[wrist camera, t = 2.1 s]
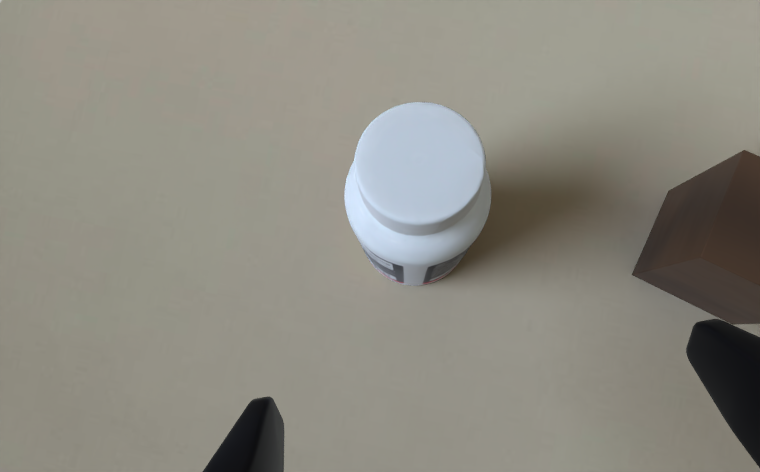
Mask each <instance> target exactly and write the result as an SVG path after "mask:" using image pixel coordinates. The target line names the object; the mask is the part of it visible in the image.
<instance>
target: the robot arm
mask: <svg viewBox="0 0 760 472" xmlns="http://www.w3.org/2000/svg"><path fill="white" fill-rule="evenodd" d="M686 353H687V357H688V359H689V361H690V363H691V365H692V366H693V368H694V370H695V371H696V373H697V375H698V376H699V378H700V379H701V381H702V383H703V384H704V386H705V388H706V389H707V391H708V393H709V394H710V396H711V397H712V399H713V401H714V402H715V404H716V406H717V407H718V409H719V411H720V412H721V414H722V416H723V417H724V419H725V420H726V422H727V423H728V425H729V426H730V428H731V429H732V431H733V432H734V434H735V435H736V436H737V438H738V439H739V441H740V442H741V443H742V445H743V446H744V447H745V449H746V450H747V451H748V453H749V454H750V455H751V457H752V458H753V459H754V461H755V462H756V464H757V465H758V466H759V468H760V337H757V336H755V335H753V334H751V333H749V332H746V331H744V330H742V329H740V328H738V327H735V326H733V325H731V324H729V323H727V322H724V321H722V320H718V319H711V320H706V321H700V322H697V323H696V324H695V325H694V326H693V329H692V332H691V335H690V338H689V342H688V345H687V348H686ZM203 472H284V423H283V419H282V417H281V415H280V413H279V410H278V408H277V406H276V404H275V402H274V400H273V398H271V397H263V398H257V399H254V400H252V401H251V402H250V403H249V404H248V406H247V407H246V409H245V410H244V412H243V413H242V415H241V416H240V418H239V419H238V420H237V422H236V423H235V425H234V426H233V428H232V429H231V431H230V432H229V434H228V435H227V437H226V438H225V440H224V441H223V443H222V444H221V446H220V447H219V449H218V450H217V451H216V453H215V454H214V456H213V457H212V459H211V460H210V462H209V463H208V465H207V466H206V468H205V469H204V471H203Z"/></svg>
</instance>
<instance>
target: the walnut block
mask: <svg viewBox="0 0 760 472" xmlns="http://www.w3.org/2000/svg"><path fill="white" fill-rule="evenodd" d="M632 275H633V276H636V277H638V278H640V279H642V280H644V281H646V282H648V283H650V284H652V285H654V286H656V287H658V288H660V289H662V290H664V291H666V292H668V293H670V294H672V295H674V296H676V297H678V298H680V299H682V300H684V301H686V302H688V303H690V304H692V305H694V306H696V307H699V308H701V309H703V310H705V311H707V312H709V313H711V314H713V315H715V316H717V317H719V318H721V319H723V320H725V321H727V322H729V323H731V324H759V323H760V157H759V156H757V155H755V154H752V153H750V152H748V151H745V150H743V151H742V152H740V153H738V154H736V155H734V156H732V157H730V158H729V159H727V160H725V161H723V162H721V163H719V164H717V165H716V166H714V167H712V168H710V169H708V170H706V171H705V172H703V173H701V174H699V175H697V176H695V177H693V178H692V179H690V180H688V181H686V182H684V183H682V184H681V185H679V186H677V187H675V188H673V189H671V190H669V191H668V194H667V196H666V198H665V201H664V203H663V205H662V207H661V210H660V212H659V214H658V217H657V219H656V221H655V223H654V226H653V228H652V230H651V233H650V235H649V237H648V239H647V242H646V244H645V246H644V248H643V251H642V253H641V255H640V258H639V260H638V262H637V264H636V267H635V269H634V271H633V274H632Z"/></svg>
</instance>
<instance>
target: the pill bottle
mask: <svg viewBox="0 0 760 472" xmlns="http://www.w3.org/2000/svg"><path fill="white" fill-rule="evenodd" d="M490 205H491V184H490V179H489V175H488V172H487V170H486V158H485V152H484V148H483V145H482V142H481V139H480V137H479V135H478V133H477V132H476V130H475V129H474V128H473V126H472V125H471V124H470V123H469V121H468V120H466V119H465V118H464V117H463V116H462V115H460V114H459V113H457V112H456V111H454V110H452V109H450V108H448V107H445V106H442V105H439V104H435V103H429V102H412V103H405V104H402V105H399V106H396V107H393V108H391V109H389V110H387V111H385V112H384V113H382V114H381V115H380V116H378V117H377V118H376V119H375V120H373V121H372V122H371V123H370V125H369V126H368V127H367V128H366V129H365V131H364V132H363V134H362V136H361V138H360V140H359V142H358V145H357V148H356V153H355V159H354V162H353V164H352V166H351V168H350V170H349V173H348V176H347V180H346V184H345V207H346V211H347V216H348V219H349V222H350V225H351V227H352V229H353V231H354V233H355V234H356V236H357V238H358V240H359V242H360V244H361V246H362V247H363V250H364V252H365V254H366V255H367V257H368V259H369V261H370V262H371V263H372V265H373V266H374V267H375V268H376V269H377V270H378V271H379V272H380V273H381V274H382V275H384V276H385V277H387V278H388V279H390V280H392V281H394V282H397V283H400V284H404V285H414V286H418V285H425V284H429V283H433V282H435V281H437V280H440V279H441V278H443V277H445V276H446V275H447V274H449V273H450V272H451V271H452V270H453V269H454V268H455V267H456V265H457V264H458V263H459V262H460V260H461V259H462V258H463V256H464V255H465V254H466V252H467V250H468V249H469V247H470V246H471V245H472V243H473V242H474V241H475V240H476V238H477V237H478V236H479V234H480V232H481V230H482V229H483V227H484V225H485V222H486V220H487V217H488V214H489V210H490Z"/></svg>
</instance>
